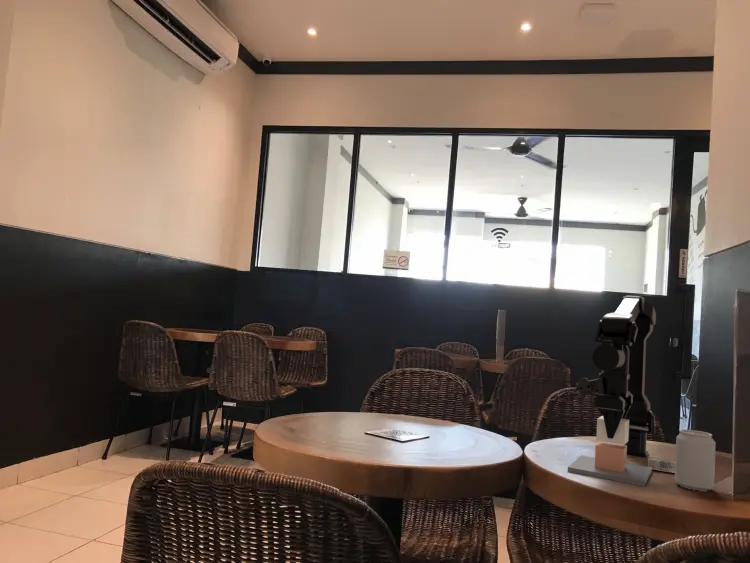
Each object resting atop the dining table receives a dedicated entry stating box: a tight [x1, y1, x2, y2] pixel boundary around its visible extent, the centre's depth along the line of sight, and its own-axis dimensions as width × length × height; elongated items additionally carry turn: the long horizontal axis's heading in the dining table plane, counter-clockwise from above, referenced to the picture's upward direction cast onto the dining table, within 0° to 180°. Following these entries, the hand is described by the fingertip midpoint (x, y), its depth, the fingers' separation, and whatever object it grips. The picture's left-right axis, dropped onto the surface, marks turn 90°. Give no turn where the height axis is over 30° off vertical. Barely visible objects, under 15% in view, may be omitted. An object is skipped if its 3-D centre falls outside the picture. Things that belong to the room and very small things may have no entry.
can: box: [674, 429, 716, 492], centre depth 126 cm, size 8×8×12 cm
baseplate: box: [567, 454, 653, 487], centre depth 134 cm, size 16×16×1 cm
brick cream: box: [595, 415, 630, 445], centre depth 135 cm, size 6×6×5 cm
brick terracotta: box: [594, 441, 628, 472], centre depth 135 cm, size 6×6×5 cm
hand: (612, 436), depth 135 cm, fingers closed on brick cream, 6 cm apart
